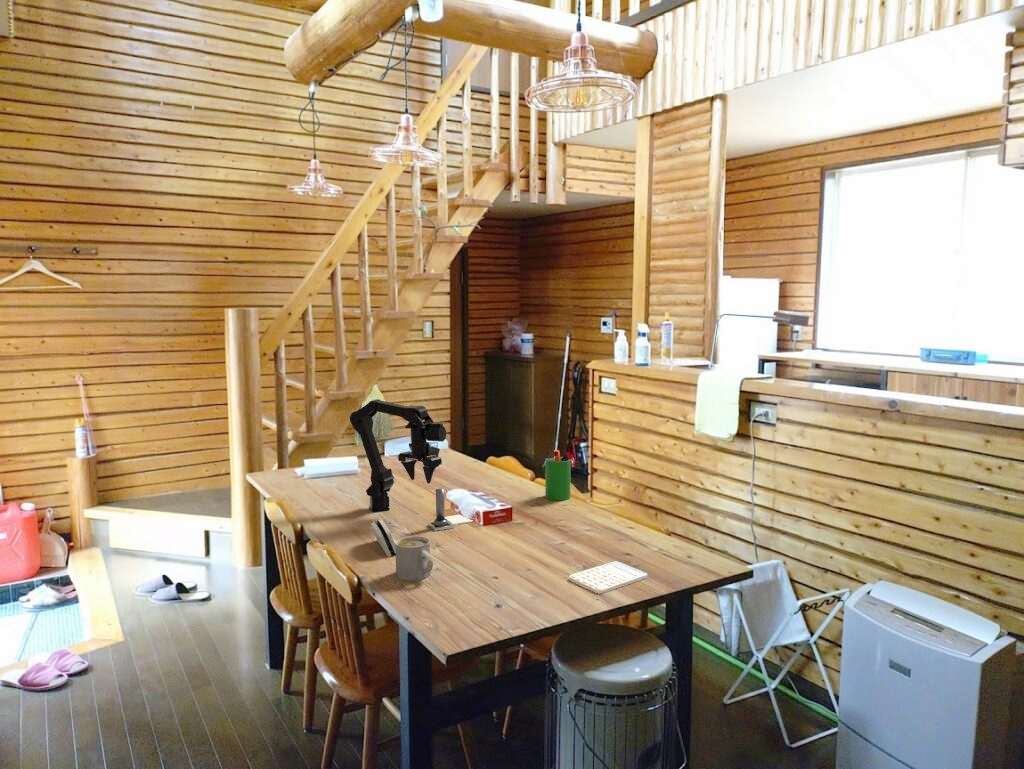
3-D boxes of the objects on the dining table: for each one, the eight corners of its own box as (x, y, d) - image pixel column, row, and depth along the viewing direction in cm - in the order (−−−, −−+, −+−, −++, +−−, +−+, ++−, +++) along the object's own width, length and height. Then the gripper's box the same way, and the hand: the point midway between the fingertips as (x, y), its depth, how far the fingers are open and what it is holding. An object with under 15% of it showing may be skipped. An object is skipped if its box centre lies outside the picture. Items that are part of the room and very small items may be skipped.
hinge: (403, 554, 224) (392, 527, 221) (389, 561, 222) (378, 533, 220) (391, 538, 239) (381, 512, 237) (378, 544, 238) (367, 518, 235)
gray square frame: (434, 531, 246) (434, 528, 246) (427, 525, 252) (427, 522, 252) (453, 528, 249) (453, 525, 249) (446, 522, 255) (446, 519, 255)
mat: (452, 525, 252) (452, 523, 252) (443, 518, 260) (443, 517, 260) (476, 521, 256) (476, 520, 256) (466, 514, 264) (466, 513, 264)
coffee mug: (390, 572, 209) (389, 540, 208) (420, 565, 215) (420, 533, 213) (410, 587, 198) (409, 553, 197) (441, 579, 204) (441, 546, 202)
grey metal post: (437, 529, 248) (436, 492, 246) (432, 525, 251) (431, 489, 250) (448, 527, 250) (448, 490, 248) (444, 524, 253) (443, 487, 252)
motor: (570, 494, 290) (570, 447, 288) (570, 501, 281) (570, 451, 279) (545, 494, 291) (545, 446, 289) (544, 500, 282) (544, 451, 280)
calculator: (566, 581, 204) (566, 574, 203) (616, 565, 216) (616, 559, 215) (598, 596, 193) (599, 590, 193) (649, 578, 205) (649, 572, 205)
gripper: (451, 439, 260) (453, 480, 262) (419, 434, 273) (421, 473, 275) (428, 444, 252) (430, 487, 254) (396, 438, 265) (398, 479, 267)
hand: (420, 481), depth 263 cm, fingers open, 9 cm apart
